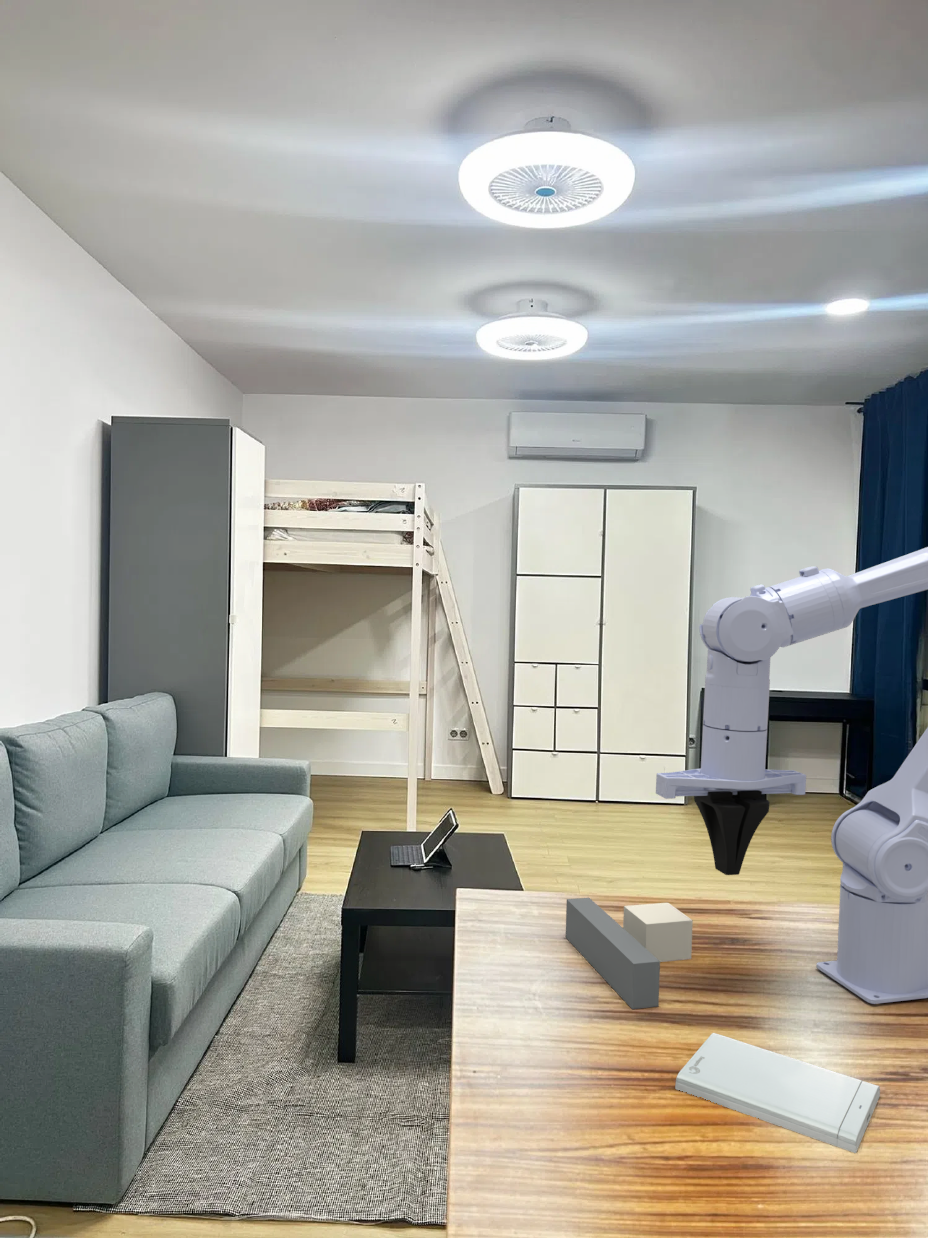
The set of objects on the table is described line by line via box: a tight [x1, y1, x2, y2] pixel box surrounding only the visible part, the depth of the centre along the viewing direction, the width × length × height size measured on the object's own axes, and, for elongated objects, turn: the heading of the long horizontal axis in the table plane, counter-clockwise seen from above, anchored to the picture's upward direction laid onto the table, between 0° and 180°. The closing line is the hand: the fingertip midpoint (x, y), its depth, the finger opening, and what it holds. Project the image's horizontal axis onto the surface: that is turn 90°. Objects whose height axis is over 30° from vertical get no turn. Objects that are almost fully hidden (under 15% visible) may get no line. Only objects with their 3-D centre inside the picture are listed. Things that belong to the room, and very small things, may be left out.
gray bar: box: [565, 897, 661, 1010], centre depth 86 cm, size 2×16×4 cm, turn 15°
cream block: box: [622, 902, 694, 963], centre depth 91 cm, size 5×5×4 cm
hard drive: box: [674, 1032, 881, 1154], centre depth 66 cm, size 2×8×12 cm
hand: (727, 871), depth 84 cm, fingers closed
